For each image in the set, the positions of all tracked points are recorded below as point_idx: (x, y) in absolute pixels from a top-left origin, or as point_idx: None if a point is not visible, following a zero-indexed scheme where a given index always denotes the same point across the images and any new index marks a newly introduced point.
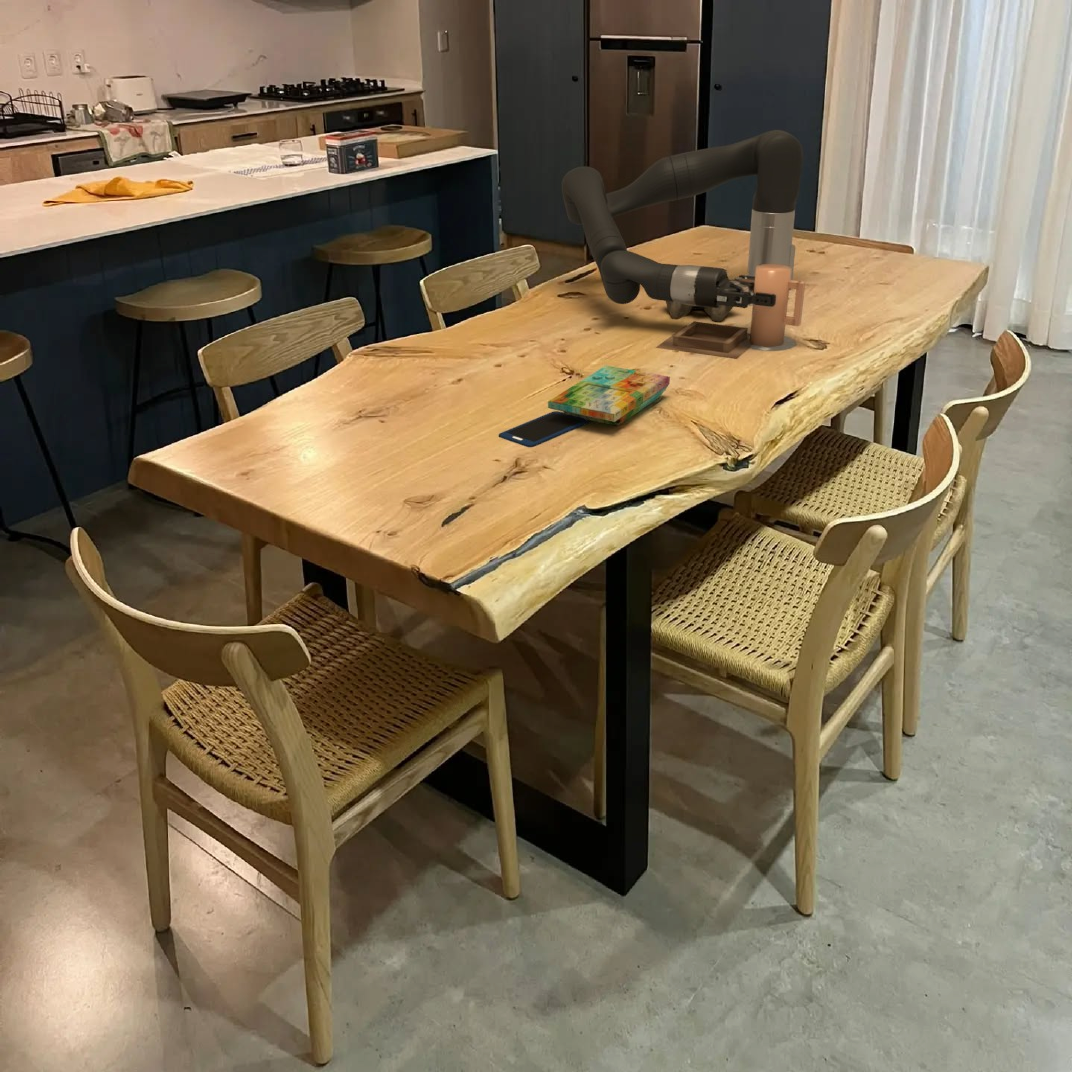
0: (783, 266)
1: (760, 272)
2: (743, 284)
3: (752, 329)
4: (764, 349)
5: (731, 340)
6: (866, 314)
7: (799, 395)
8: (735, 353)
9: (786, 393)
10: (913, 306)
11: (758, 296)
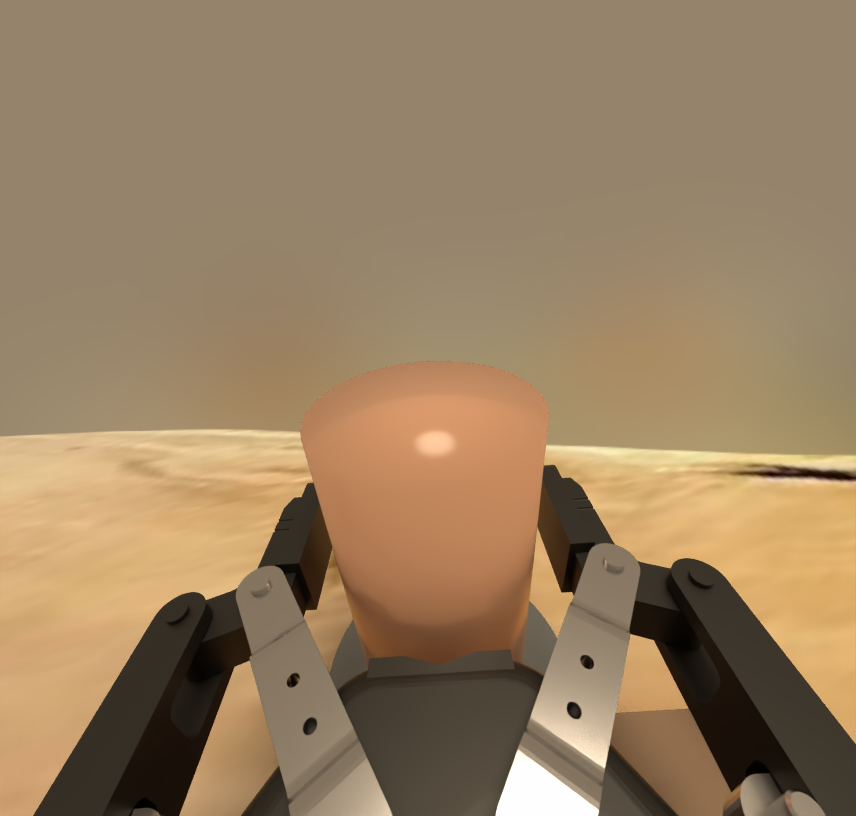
0: (352, 391)
1: (545, 442)
2: (414, 738)
3: None
4: (545, 642)
5: (693, 790)
6: (67, 520)
7: (750, 463)
8: (698, 749)
9: (775, 482)
10: (29, 468)
11: (603, 528)
